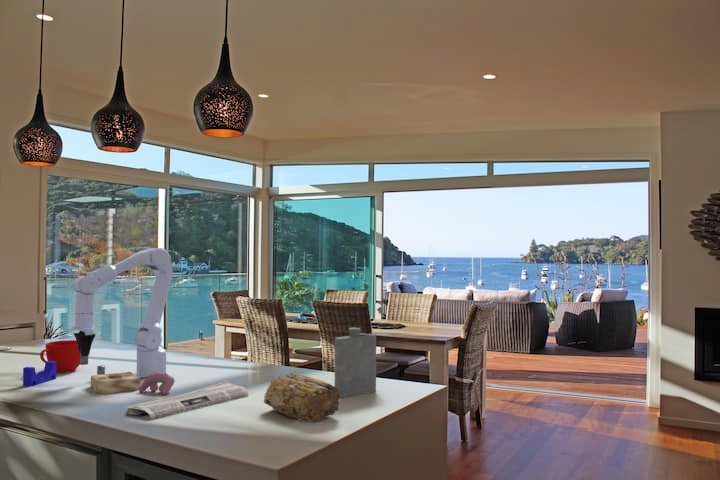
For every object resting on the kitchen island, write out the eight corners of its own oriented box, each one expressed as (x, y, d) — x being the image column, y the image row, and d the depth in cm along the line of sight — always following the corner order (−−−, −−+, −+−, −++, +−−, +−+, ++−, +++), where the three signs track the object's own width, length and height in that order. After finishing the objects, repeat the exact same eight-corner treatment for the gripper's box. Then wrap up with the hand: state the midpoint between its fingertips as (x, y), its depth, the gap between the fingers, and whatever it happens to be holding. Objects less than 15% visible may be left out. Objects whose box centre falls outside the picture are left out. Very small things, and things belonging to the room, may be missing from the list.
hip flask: (339, 399, 183) (339, 330, 184) (330, 396, 186) (330, 329, 187) (378, 391, 194) (378, 326, 195) (368, 389, 197) (369, 325, 198)
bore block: (130, 382, 205) (130, 371, 205) (139, 389, 195) (139, 378, 195) (90, 386, 198) (91, 375, 198) (98, 394, 188) (99, 382, 188)
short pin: (103, 378, 211) (104, 365, 211) (105, 379, 209) (105, 366, 209) (96, 379, 210) (96, 365, 210) (97, 380, 208) (98, 367, 208)
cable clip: (43, 379, 211) (44, 361, 211) (56, 379, 210) (56, 361, 210) (18, 386, 199) (19, 367, 199) (31, 387, 198) (31, 368, 198)
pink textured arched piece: (172, 398, 190) (178, 375, 194) (164, 394, 187) (170, 371, 190) (144, 395, 194) (151, 373, 197) (136, 391, 190) (143, 369, 193)
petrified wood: (346, 416, 163) (340, 380, 162) (305, 436, 155) (299, 398, 153) (303, 400, 178) (298, 366, 176) (264, 417, 170) (258, 382, 168)
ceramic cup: (26, 374, 217) (27, 345, 217) (66, 366, 233) (66, 339, 233) (54, 377, 212) (55, 348, 212) (93, 369, 228) (93, 341, 228)
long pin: (87, 363, 204) (87, 338, 205) (88, 364, 202) (89, 339, 203) (79, 364, 203) (79, 339, 203) (80, 365, 201) (81, 340, 201)
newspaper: (150, 421, 160) (150, 408, 160) (122, 414, 167) (122, 400, 167) (251, 396, 188) (251, 384, 188) (223, 391, 196) (223, 379, 196)
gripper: (67, 311, 207) (67, 353, 207) (75, 315, 195) (74, 359, 195) (90, 310, 211) (89, 351, 211) (99, 314, 199) (99, 357, 199)
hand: (84, 355), depth 203 cm, fingers closed on long pin, 2 cm apart
